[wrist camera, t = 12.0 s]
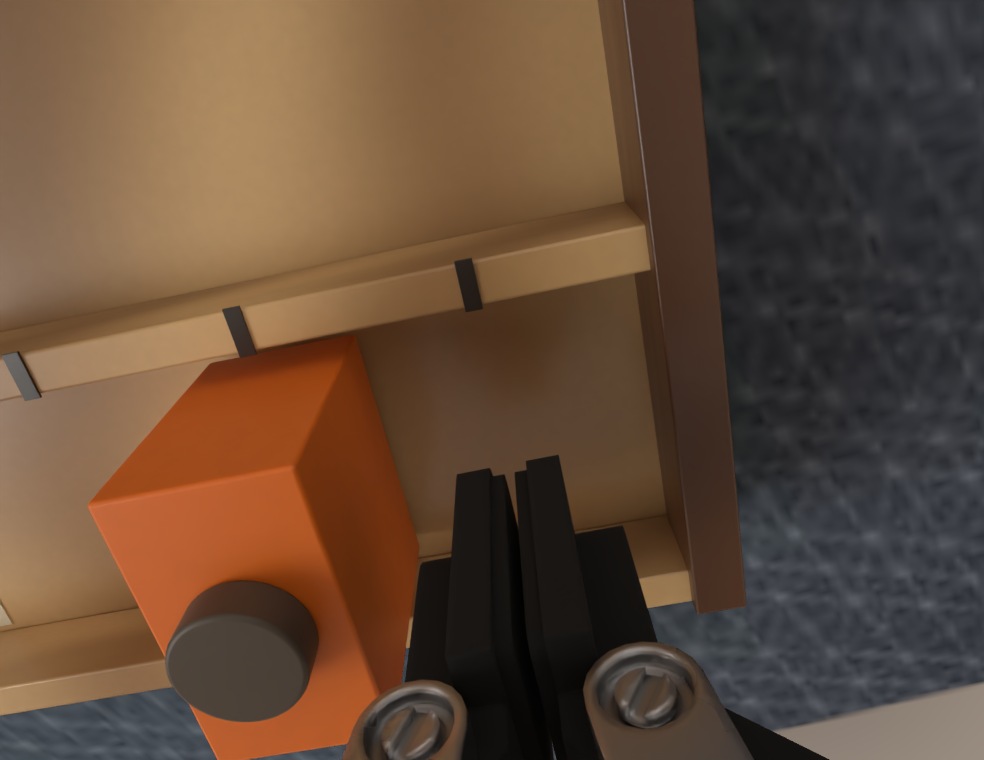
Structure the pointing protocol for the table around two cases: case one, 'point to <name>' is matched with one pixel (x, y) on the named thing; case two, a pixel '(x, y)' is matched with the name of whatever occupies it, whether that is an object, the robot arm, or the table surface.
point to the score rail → (355, 272)
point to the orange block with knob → (269, 548)
